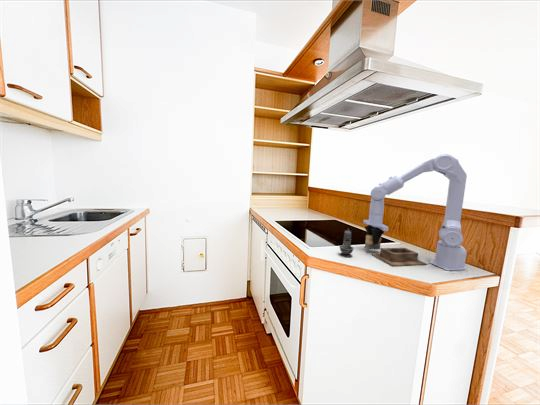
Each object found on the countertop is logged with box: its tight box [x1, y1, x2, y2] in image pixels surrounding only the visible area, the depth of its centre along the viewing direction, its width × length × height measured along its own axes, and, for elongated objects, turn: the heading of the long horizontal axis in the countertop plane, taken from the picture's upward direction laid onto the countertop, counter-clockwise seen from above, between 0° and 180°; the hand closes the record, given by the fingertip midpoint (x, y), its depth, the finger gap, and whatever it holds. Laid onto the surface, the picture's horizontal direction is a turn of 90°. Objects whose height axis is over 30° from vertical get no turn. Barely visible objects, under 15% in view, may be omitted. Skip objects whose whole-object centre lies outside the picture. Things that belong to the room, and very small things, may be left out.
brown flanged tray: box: [371, 247, 427, 268], centre depth 93 cm, size 16×12×4 cm
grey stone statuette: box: [338, 228, 355, 259], centre depth 95 cm, size 6×6×12 cm
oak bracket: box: [364, 234, 382, 250], centre depth 101 cm, size 6×2×6 cm, turn 102°
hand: (373, 242), depth 101 cm, fingers closed on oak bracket, 2 cm apart
